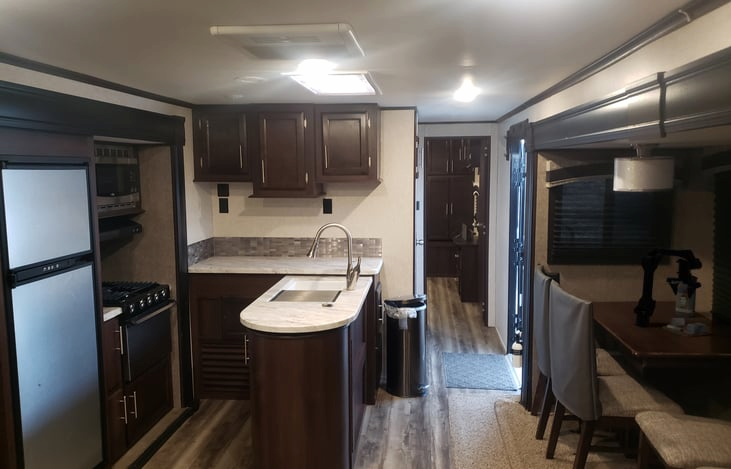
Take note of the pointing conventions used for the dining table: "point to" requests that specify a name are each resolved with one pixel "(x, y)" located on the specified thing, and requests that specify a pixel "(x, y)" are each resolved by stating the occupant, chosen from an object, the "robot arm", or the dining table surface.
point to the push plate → (677, 322)
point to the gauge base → (688, 329)
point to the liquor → (685, 302)
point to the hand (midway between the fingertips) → (682, 296)
